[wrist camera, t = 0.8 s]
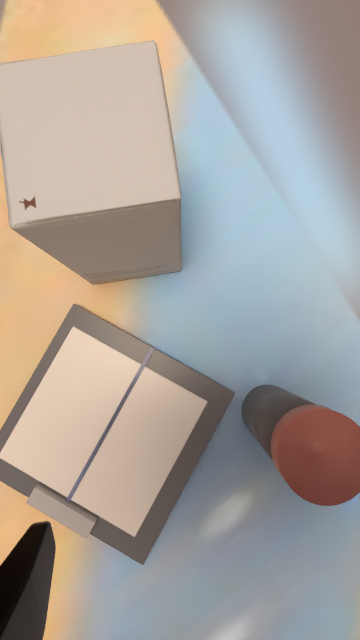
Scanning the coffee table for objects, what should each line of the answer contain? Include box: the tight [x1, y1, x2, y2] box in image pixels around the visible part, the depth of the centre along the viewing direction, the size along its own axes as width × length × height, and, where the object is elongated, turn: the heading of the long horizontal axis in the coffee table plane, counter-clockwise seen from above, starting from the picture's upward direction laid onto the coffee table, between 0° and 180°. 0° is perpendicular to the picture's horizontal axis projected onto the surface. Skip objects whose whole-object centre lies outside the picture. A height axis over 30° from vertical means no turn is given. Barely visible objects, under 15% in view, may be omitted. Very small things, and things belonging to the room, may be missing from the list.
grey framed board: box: [0, 304, 235, 565], centre depth 24 cm, size 14×14×1 cm
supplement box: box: [0, 41, 182, 284], centre depth 19 cm, size 7×7×13 cm
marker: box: [242, 385, 360, 506], centre depth 20 cm, size 4×4×10 cm
